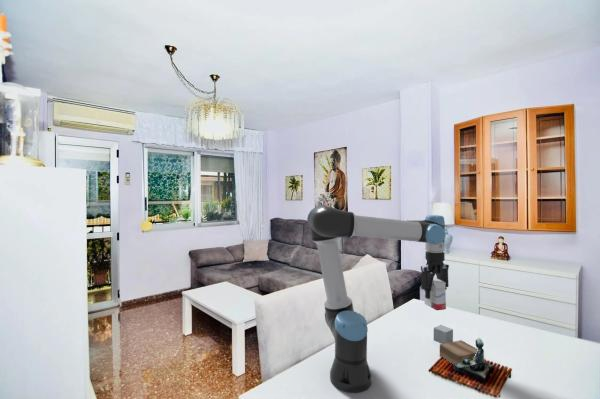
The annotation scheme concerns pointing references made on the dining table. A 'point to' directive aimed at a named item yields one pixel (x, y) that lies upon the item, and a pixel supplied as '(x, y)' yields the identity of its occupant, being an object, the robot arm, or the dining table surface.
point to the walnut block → (457, 351)
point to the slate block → (443, 334)
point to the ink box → (438, 294)
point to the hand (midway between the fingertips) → (434, 304)
